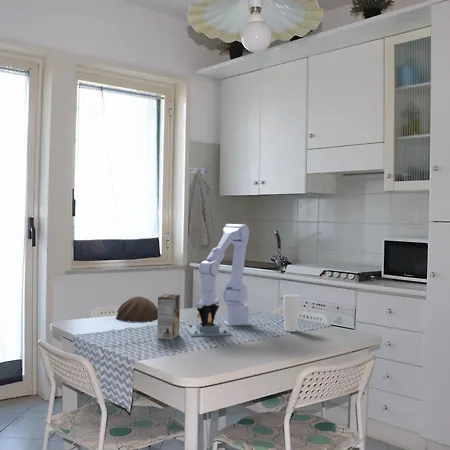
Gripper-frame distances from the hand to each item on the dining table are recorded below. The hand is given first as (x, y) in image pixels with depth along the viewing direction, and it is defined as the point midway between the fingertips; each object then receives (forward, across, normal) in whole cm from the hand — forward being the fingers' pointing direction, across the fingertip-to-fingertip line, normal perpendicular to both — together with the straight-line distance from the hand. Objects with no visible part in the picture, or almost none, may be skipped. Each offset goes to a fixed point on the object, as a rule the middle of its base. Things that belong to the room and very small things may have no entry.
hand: (207, 323), depth 227 cm
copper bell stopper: (+2, 0, 0) cm, 2 cm away
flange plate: (+3, 0, 0) cm, 3 cm away
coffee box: (+4, +17, -7) cm, 19 cm away
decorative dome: (+4, -6, -42) cm, 43 cm away
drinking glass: (+4, -23, +27) cm, 35 cm away
